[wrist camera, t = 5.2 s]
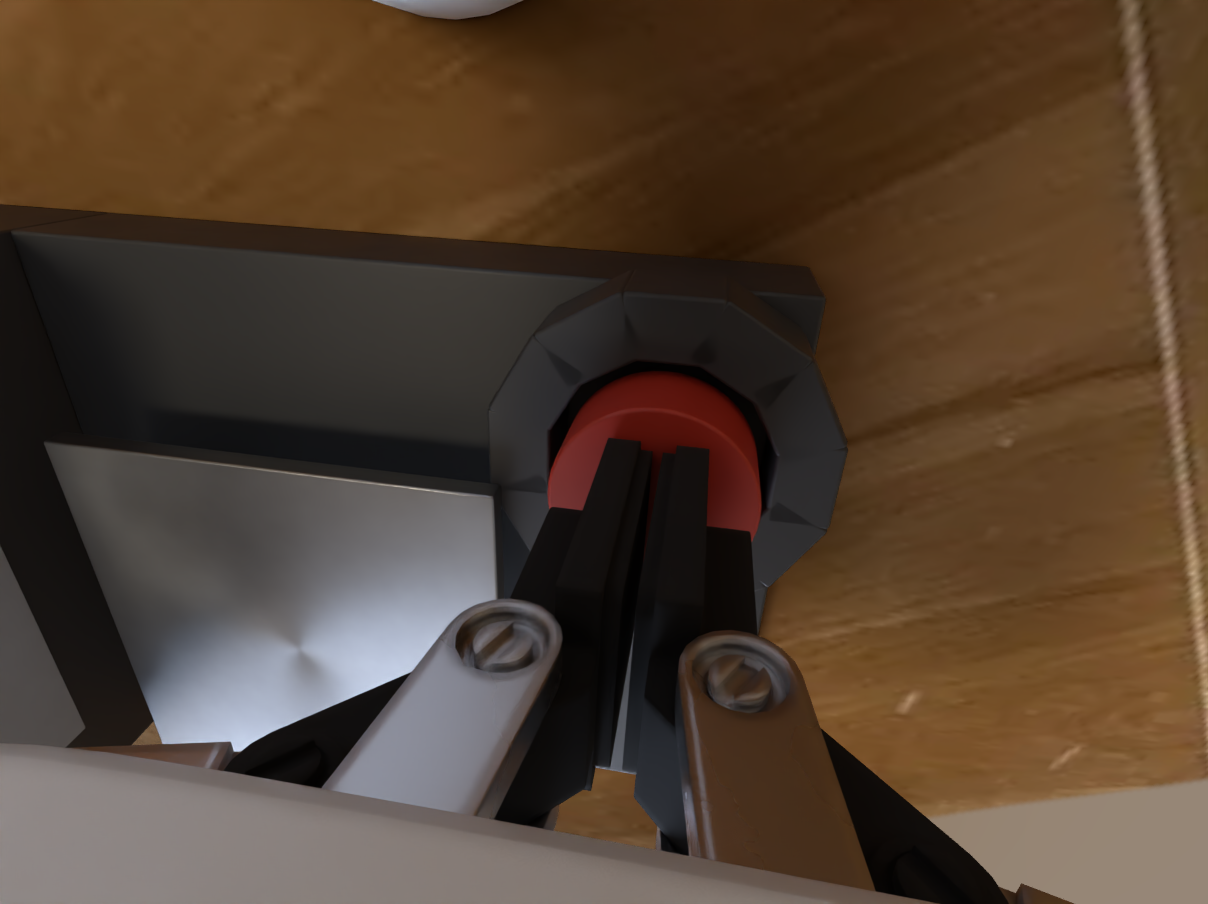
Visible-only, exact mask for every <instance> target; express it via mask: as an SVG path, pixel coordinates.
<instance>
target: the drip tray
mask: <svg viewBox="0 0 1208 904" xmlns="http://www.w3.org/2000/svg"><path fill="white" fill-rule="evenodd" d="M44 445H45V447H46V450H47V453H48V455H49V458H50V460H51V463H52V465H53V468H54V470H55V473H56V475H57V478H58V480H59V483H60V485H61V488H62V490H63V493H64V495H65V498H66V501H67V503H68V506H69V508H70V511H71V513H72V516H73V518H74V521H75V523H76V526H77V528H78V531H79V533H80V536H81V538H82V541H83V543H84V546H85V549H86V551H87V554H88V556H89V559H90V561H91V564H92V566H93V569H94V571H95V574H96V576H97V579H98V581H99V584H100V586H101V589H102V591H103V594H104V597H105V599H106V602H107V604H108V607H109V609H110V612H111V614H112V617H113V619H114V622H115V624H116V627H117V629H118V632H119V634H120V637H121V640H122V642H123V645H124V647H125V650H126V652H127V655H128V657H129V660H130V662H131V665H132V667H133V670H134V672H135V675H136V677H137V680H138V682H139V685H140V688H141V690H142V693H143V695H144V698H145V700H146V703H147V705H148V708H149V710H150V713H151V715H152V718H153V720H154V723H155V725H156V728H157V730H158V733H159V736H160V738H161V741H162V743H163V744H180V743H206V742H231V743H232V747H233V750H234V751H242V750H244V749H245V748H246V747H247V746H248V745H250V744H251V743H253V742H254V741H256V740H258V739H260V738H262V737H264V736H265V735H267V734H269V733H271V732H273V731H275V730H277V729H280V728H282V727H284V726H287V725H289V724H291V723H294V722H296V721H298V720H301V719H303V718H305V717H308V716H310V715H312V714H315V713H317V712H319V711H322V710H324V709H326V708H329V707H331V706H333V705H336V704H338V703H340V702H343V701H345V700H347V699H350V698H352V697H354V696H357V695H359V694H361V693H364V692H366V691H368V690H370V689H373V688H375V687H377V686H380V685H382V684H384V683H387V682H389V681H391V680H394V679H396V678H398V677H401V676H403V675H405V674H408V673H410V672H412V671H413V670H414V668H415V667H416V666H417V665H418V663H419V662H420V661H421V659H422V658H423V657H424V656H425V654H426V653H427V652H428V650H429V649H430V648H431V647H432V645H433V644H434V643H435V641H436V640H437V639H438V638H439V636H440V635H441V634H442V632H443V631H444V630H445V629H446V627H447V626H448V625H449V623H450V622H451V621H452V620H454V619H455V618H456V617H457V616H458V615H459V614H460V613H461V612H463V611H465V610H466V609H468V608H470V607H472V606H474V605H476V604H479V603H483V602H486V601H490V600H496V599H504V571H503V542H502V513H501V487H500V485H496V484H488V483H480V482H472V481H463V480H455V479H447V478H439V477H430V476H422V475H414V474H406V473H397V472H389V471H381V470H373V469H365V468H356V467H348V466H340V465H332V464H323V463H315V462H307V461H299V460H290V459H282V458H274V457H266V456H258V455H249V454H241V453H233V452H225V451H216V450H208V449H200V448H192V447H183V446H175V445H167V444H159V443H151V442H142V441H134V440H126V439H118V438H109V437H101V436H93V435H85V434H76V433H68V432H62V433H60V434H58V435H56V436H54V437H52V438H50V439H48V440H46V441H44Z"/></svg>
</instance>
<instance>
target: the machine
mask: <svg viewBox="0 0 1208 904" xmlns="http://www.w3.org/2000/svg"><path fill="white" fill-rule="evenodd" d="M11 235H12V238H13V241H14V244H15V246H16V249H17V252H18V255H19V257H20V260H21V263H22V266H23V269H24V271H25V274H26V277H27V280H28V282H29V285H30V288H31V291H32V293H33V296H34V299H35V302H36V305H37V307H38V310H39V313H40V316H41V318H42V321H43V324H44V327H45V329H46V332H47V335H48V338H49V340H50V343H51V346H52V349H53V352H54V354H55V357H56V360H57V363H58V365H59V368H60V371H61V374H62V376H63V379H64V382H65V385H66V387H67V390H68V393H69V396H70V399H71V401H72V404H73V407H74V410H75V412H76V415H77V418H78V421H79V423H80V426H81V429H82V432H83V434H85V435H93V436H101V437H109V438H118V439H126V440H134V441H142V442H151V443H159V444H167V445H175V446H183V447H192V448H200V449H208V450H216V451H225V452H233V453H241V454H249V455H258V456H266V457H274V458H282V459H290V460H299V461H307V462H315V463H323V464H332V465H340V466H348V467H356V468H365V469H373V470H381V471H389V472H397V473H406V474H414V475H422V476H430V477H439V478H447V479H455V480H463V481H472V482H480V483H488V484H496V485H500V487H501V513H502V542H503V571H504V599H510V597H511V594H512V592H513V590H514V588H515V585H516V583H517V581H518V579H519V576H520V574H521V572H522V569H523V567H524V565H525V563H526V560H527V558H528V556H529V554H530V551H531V549H532V547H533V545H534V542H535V540H536V538H537V536H538V533H539V531H540V529H541V526H542V524H543V522H544V520H545V517H546V515H547V513H548V511H549V505H548V493H547V492H548V480H549V476H550V472H551V468H552V466H553V463H554V461H555V458H556V456H557V454H558V452H559V450H560V448H561V446H562V444H563V441H564V439H565V437H566V435H567V433H568V431H569V429H570V427H571V425H572V423H573V421H574V418H575V417H576V415H577V413H578V412H579V410H580V408H581V407H582V406H583V405H584V403H585V402H586V401H587V400H588V399H589V398H590V397H591V396H592V395H593V394H594V393H595V392H596V391H598V390H599V389H601V388H602V387H604V386H605V385H607V384H609V383H610V382H612V381H614V380H616V379H619V378H622V377H624V376H627V375H630V374H635V373H640V372H647V371H669V372H676V373H682V374H685V375H689V376H692V377H695V378H697V379H700V380H702V381H704V382H707V383H708V384H710V385H712V386H713V387H715V388H717V389H718V390H720V391H721V392H722V393H724V394H725V395H726V396H727V397H728V398H729V399H730V400H731V401H732V402H733V403H734V404H735V405H736V406H737V407H738V408H739V410H740V411H741V412H742V414H743V415H744V416H745V418H746V420H747V422H748V424H749V426H750V428H751V430H752V433H753V436H754V439H755V444H756V449H757V459H758V469H759V479H760V489H761V503H762V508H761V517H760V522H759V525H758V529H757V532H756V534H755V536H754V538H753V541H752V542H751V543H752V558H753V573H754V588H755V602H756V617H757V632H758V634H759V629H760V624H761V619H762V614H763V609H764V604H765V599H766V594H767V590H768V587H770V586H771V585H772V584H773V583H774V582H775V581H776V580H777V579H778V578H779V577H780V576H781V575H782V574H783V573H785V572H786V571H787V570H788V569H789V568H790V567H791V566H792V565H793V564H794V563H795V562H796V561H797V560H798V559H799V558H800V557H801V556H802V555H803V554H805V553H806V552H807V551H808V550H809V549H810V548H811V547H812V546H813V545H814V544H815V543H816V542H817V541H818V540H819V539H820V538H821V537H822V536H823V535H825V534H826V532H827V529H828V528H829V526H830V523H831V518H832V514H833V510H834V506H835V502H836V498H837V494H838V490H839V486H840V482H841V478H842V473H843V469H844V465H845V461H846V457H847V453H848V448H847V439H846V436H845V434H844V431H843V428H842V426H841V423H840V420H839V418H838V415H837V412H836V410H835V407H834V404H833V402H832V399H831V397H830V394H829V392H828V389H827V387H826V384H825V382H824V379H823V377H822V374H821V372H820V369H819V367H818V364H817V362H816V359H815V352H816V347H817V342H818V338H819V333H820V328H821V323H822V318H823V313H824V308H825V303H826V298H825V296H824V294H823V292H822V290H821V288H820V286H819V285H818V283H817V281H816V279H815V277H814V275H813V274H812V272H811V270H810V268H809V267H807V266H794V265H781V264H768V263H755V262H741V261H728V260H715V259H702V258H689V257H676V256H663V255H650V254H637V253H624V252H611V251H598V250H584V249H571V248H558V247H545V246H532V245H519V244H506V243H493V242H480V241H467V240H454V239H441V238H428V237H414V236H401V235H388V234H375V233H362V232H349V231H336V230H323V229H310V228H297V227H284V226H271V225H257V224H244V223H231V222H218V221H205V220H192V219H179V218H166V217H153V216H140V215H127V214H114V213H109V214H104V215H98V216H92V217H86V218H80V219H74V220H68V221H63V222H57V223H51V224H45V225H39V226H33V227H27V228H22V229H16V230H13V231H11ZM633 637H634V633H633ZM632 648H633V639H632V645H631V650H630V656H629V662H628V668H627V674H626V679H625V685H624V691H623V697H622V703H621V708H620V714H619V720H618V726H617V731H616V737H615V743H614V749H613V755H612V760H611V765H610V768H606V767H600V766H596V767H595V768H601V769H607V770H613V771H619V772H625V773H630V774H636V773H635V772H629V771H623V770H622V764H623V753H624V741H625V729H626V718H627V706H628V695H629V683H630V671H631V660H632Z"/></svg>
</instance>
